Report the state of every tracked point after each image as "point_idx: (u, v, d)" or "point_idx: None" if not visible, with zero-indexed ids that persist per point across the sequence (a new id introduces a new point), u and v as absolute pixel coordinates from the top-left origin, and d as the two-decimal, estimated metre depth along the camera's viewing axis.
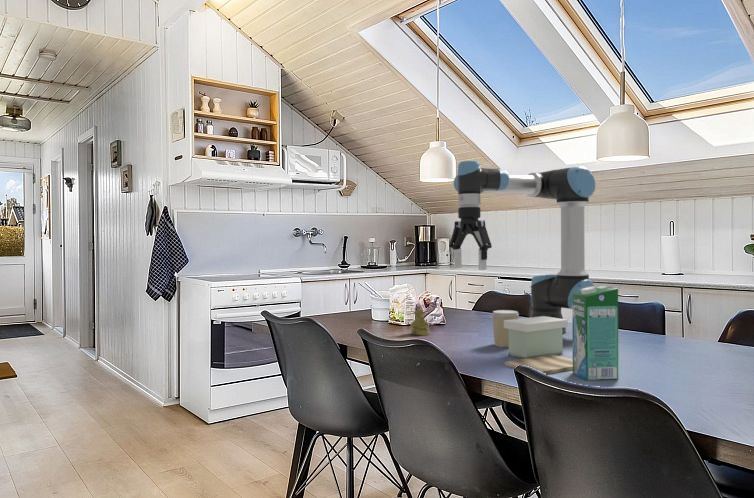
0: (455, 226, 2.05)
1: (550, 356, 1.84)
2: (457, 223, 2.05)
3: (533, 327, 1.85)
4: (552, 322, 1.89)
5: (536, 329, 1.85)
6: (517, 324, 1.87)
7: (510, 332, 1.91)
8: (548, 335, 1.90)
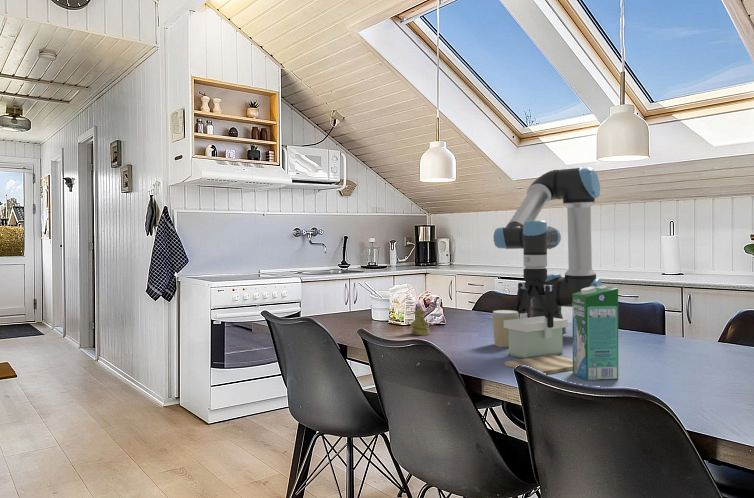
0: (519, 288, 1.97)
1: (550, 356, 1.84)
2: (521, 284, 1.96)
3: (533, 327, 1.85)
4: None
5: (536, 329, 1.85)
6: (517, 324, 1.87)
7: (510, 332, 1.91)
8: None
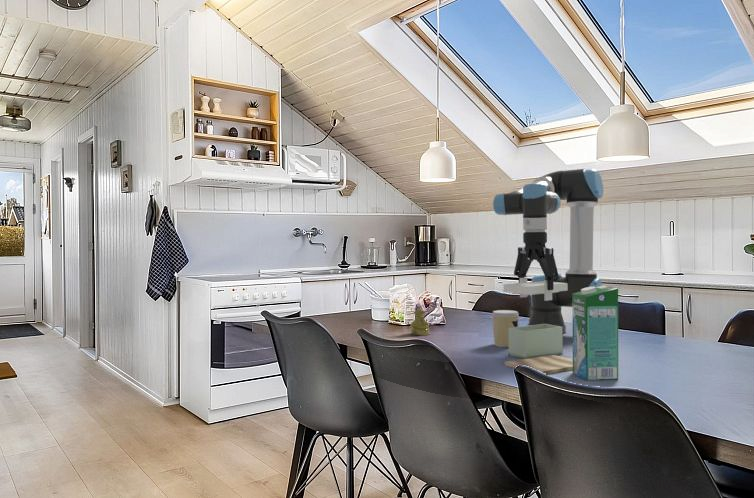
0: (519, 252, 1.96)
1: (550, 356, 1.84)
2: (521, 249, 1.96)
3: (533, 290, 1.85)
4: None
5: (536, 292, 1.85)
6: (517, 287, 1.86)
7: (510, 332, 1.91)
8: (548, 335, 1.90)
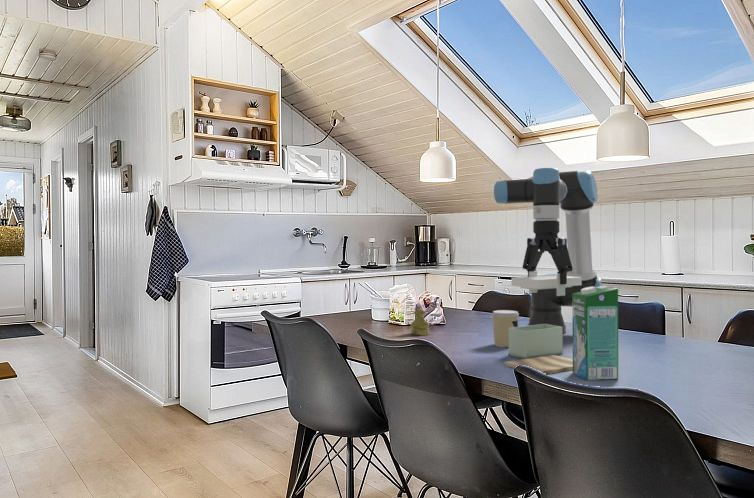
0: (528, 243, 1.80)
1: (550, 356, 1.84)
2: (530, 240, 1.79)
3: (545, 284, 1.68)
4: None
5: (547, 286, 1.68)
6: (526, 281, 1.70)
7: (510, 332, 1.91)
8: (548, 335, 1.90)
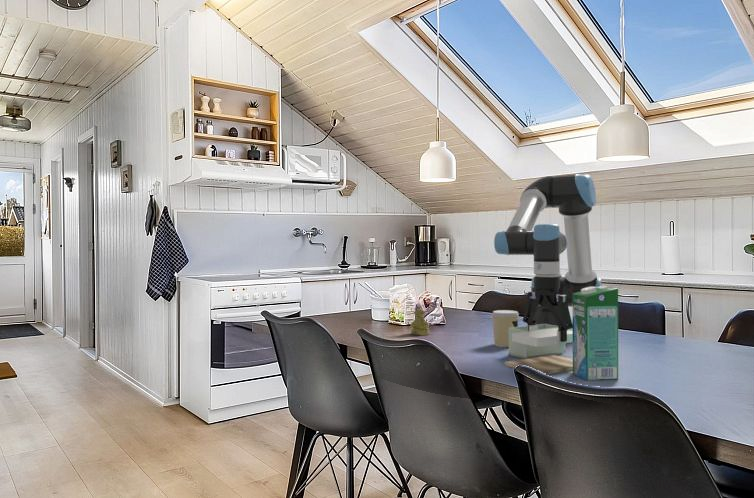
0: (529, 297, 1.80)
1: (550, 356, 1.84)
2: (531, 294, 1.80)
3: (545, 341, 1.68)
4: None
5: (548, 343, 1.69)
6: (527, 338, 1.70)
7: (510, 332, 1.91)
8: None
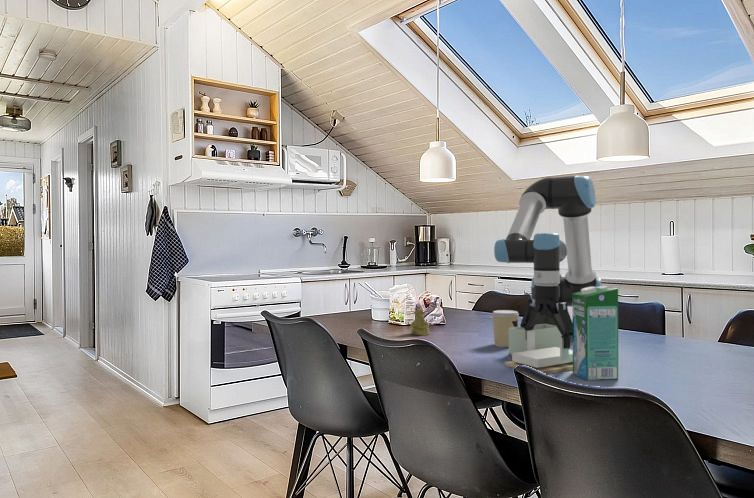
0: (528, 304, 1.80)
1: None
2: (531, 301, 1.80)
3: (545, 362, 1.68)
4: None
5: (548, 364, 1.69)
6: (527, 358, 1.70)
7: (510, 332, 1.91)
8: (548, 335, 1.90)
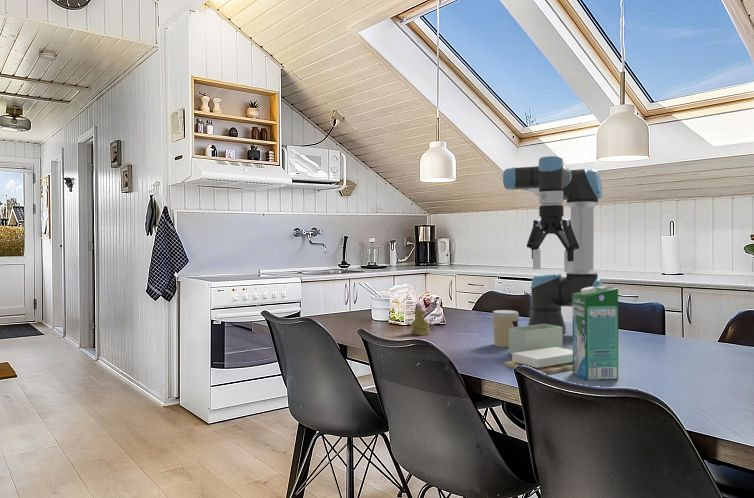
0: (534, 225, 1.94)
1: None
2: (536, 222, 1.93)
3: (545, 362, 1.68)
4: (565, 356, 1.72)
5: (548, 364, 1.69)
6: (527, 358, 1.70)
7: (510, 332, 1.91)
8: (548, 335, 1.90)
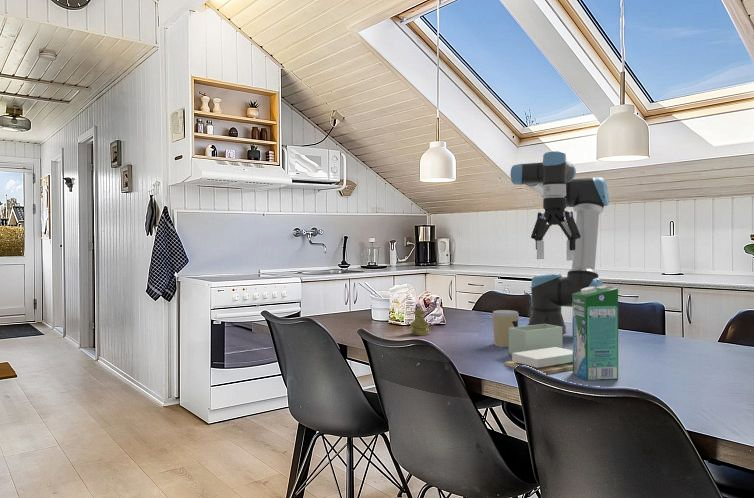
0: (538, 217, 2.05)
1: None
2: (540, 214, 2.04)
3: (545, 362, 1.68)
4: (565, 356, 1.72)
5: (548, 364, 1.69)
6: (527, 358, 1.70)
7: (510, 332, 1.91)
8: (548, 335, 1.90)
